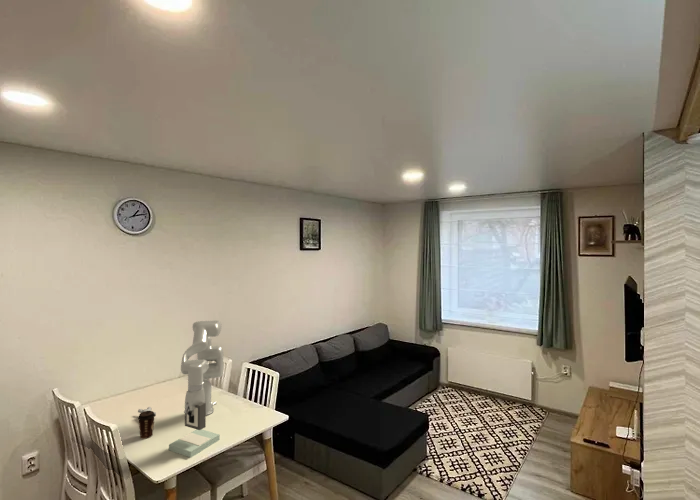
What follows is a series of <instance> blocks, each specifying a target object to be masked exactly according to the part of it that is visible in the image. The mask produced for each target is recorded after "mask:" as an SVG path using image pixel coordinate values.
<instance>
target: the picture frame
mask: <svg viewBox="0 0 700 500" xmlns="http://www.w3.org/2000/svg"><path fill="white" fill-rule="evenodd" d="M193 415H194V423H190V422H189V415H188V414H186V413H184V427H187V428H190V429H194V430H201V429H202V430H204V429H205V428H206V426H207V425H206V422H207V421H206V420H207V419H206V417H207V415H206V403H203V402H201V403H198V404H196V406H195V410H194V413H193Z"/></svg>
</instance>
